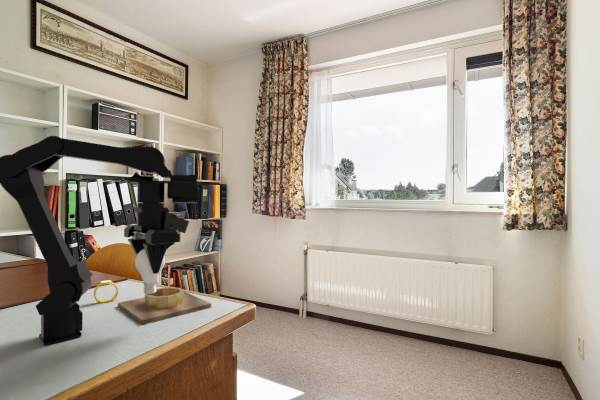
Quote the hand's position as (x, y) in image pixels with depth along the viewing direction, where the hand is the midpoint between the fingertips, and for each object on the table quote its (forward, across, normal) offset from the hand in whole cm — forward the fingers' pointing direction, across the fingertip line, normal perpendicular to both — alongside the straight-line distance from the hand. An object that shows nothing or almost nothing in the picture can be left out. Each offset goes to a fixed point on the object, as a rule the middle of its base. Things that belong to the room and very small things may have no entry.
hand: (150, 270), depth 76 cm
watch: (+13, +28, +2) cm, 31 cm away
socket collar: (+13, +12, -8) cm, 19 cm away
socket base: (+13, +12, -8) cm, 19 cm away
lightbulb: (+6, 0, 0) cm, 6 cm away
